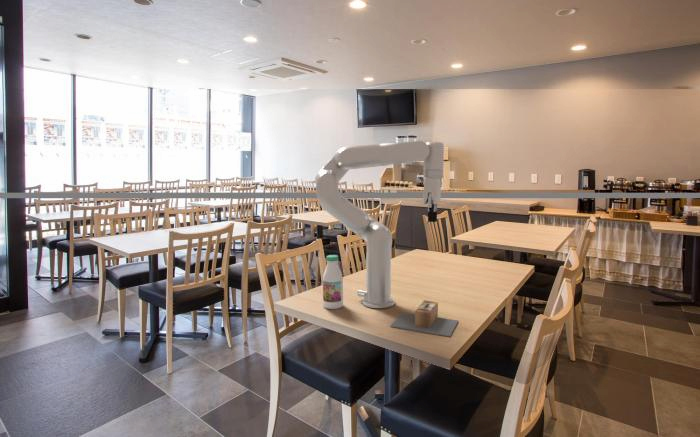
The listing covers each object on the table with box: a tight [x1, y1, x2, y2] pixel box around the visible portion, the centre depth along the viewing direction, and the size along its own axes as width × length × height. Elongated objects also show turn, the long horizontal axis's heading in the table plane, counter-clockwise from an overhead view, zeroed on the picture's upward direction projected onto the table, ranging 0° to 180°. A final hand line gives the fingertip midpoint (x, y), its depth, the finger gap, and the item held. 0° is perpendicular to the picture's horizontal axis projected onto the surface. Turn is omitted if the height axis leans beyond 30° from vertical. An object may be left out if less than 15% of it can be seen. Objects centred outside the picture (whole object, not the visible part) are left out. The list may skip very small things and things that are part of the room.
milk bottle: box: [322, 254, 344, 310], centre depth 153 cm, size 8×8×20 cm
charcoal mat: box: [389, 311, 459, 338], centre depth 136 cm, size 20×14×1 cm
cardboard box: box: [414, 299, 439, 328], centre depth 138 cm, size 5×5×12 cm
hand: (432, 221), depth 156 cm, fingers closed
